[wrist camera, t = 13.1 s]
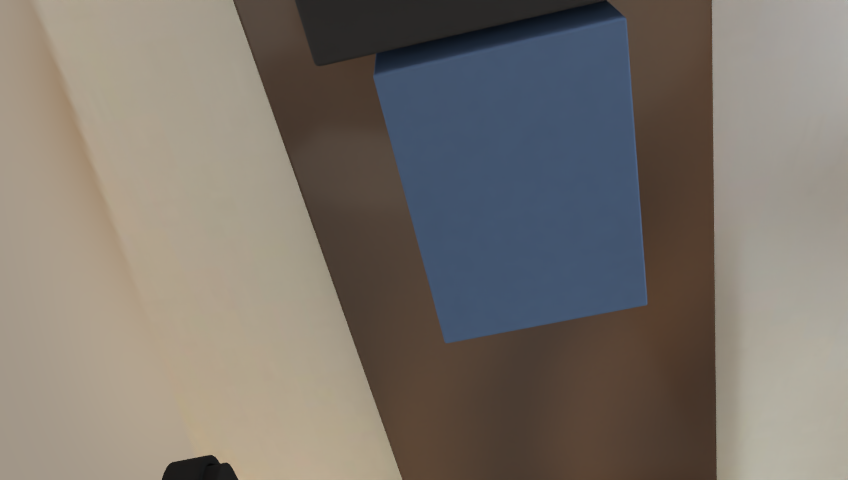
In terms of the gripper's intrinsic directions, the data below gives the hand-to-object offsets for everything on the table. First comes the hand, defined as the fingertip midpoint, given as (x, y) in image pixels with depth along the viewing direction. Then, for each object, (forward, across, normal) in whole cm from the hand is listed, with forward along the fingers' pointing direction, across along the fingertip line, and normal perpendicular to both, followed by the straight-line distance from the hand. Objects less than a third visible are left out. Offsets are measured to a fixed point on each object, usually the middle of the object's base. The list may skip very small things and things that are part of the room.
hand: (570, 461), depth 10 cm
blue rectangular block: (+12, -1, 0) cm, 12 cm away
